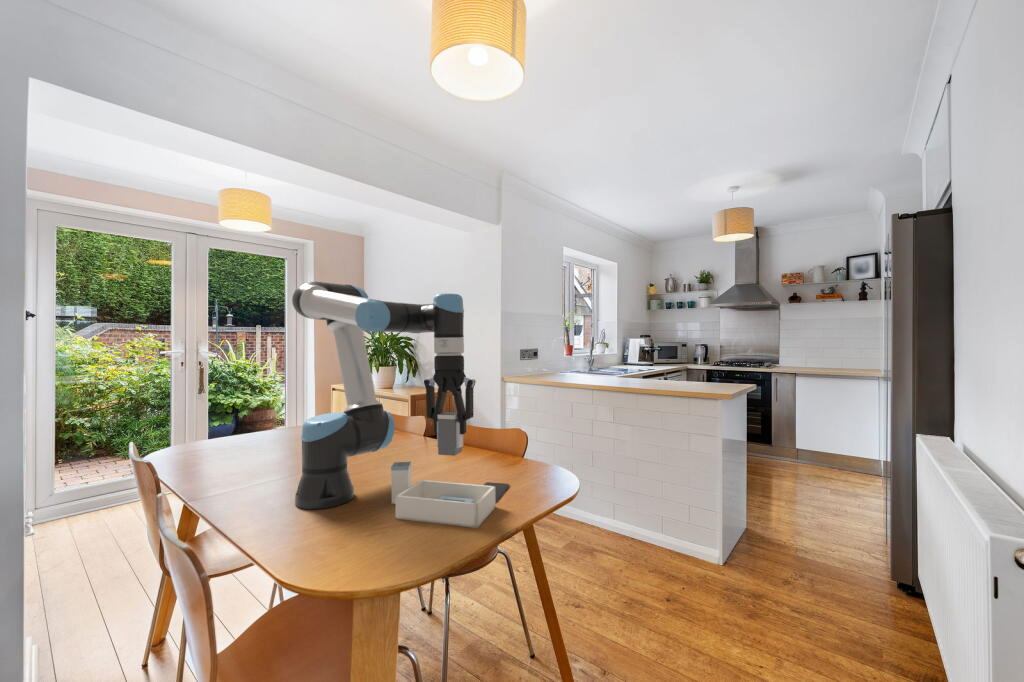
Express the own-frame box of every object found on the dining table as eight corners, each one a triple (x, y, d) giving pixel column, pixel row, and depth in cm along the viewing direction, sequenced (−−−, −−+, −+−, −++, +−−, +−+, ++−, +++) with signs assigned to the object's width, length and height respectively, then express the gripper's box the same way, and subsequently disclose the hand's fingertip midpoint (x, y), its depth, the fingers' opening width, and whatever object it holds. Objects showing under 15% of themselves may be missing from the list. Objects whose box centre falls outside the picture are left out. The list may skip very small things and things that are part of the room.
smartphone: (495, 505, 118) (510, 486, 133) (495, 502, 118) (510, 483, 133) (467, 503, 120) (485, 484, 135) (467, 500, 120) (485, 481, 135)
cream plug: (391, 503, 119) (391, 466, 119) (394, 497, 123) (394, 462, 124) (408, 503, 119) (408, 466, 119) (411, 497, 124) (411, 461, 124)
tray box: (395, 518, 109) (395, 496, 109) (421, 499, 122) (421, 479, 122) (477, 528, 103) (477, 504, 103) (495, 507, 116) (495, 486, 116)
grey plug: (438, 454, 110) (437, 414, 110) (445, 450, 114) (445, 412, 114) (454, 455, 109) (454, 415, 109) (462, 451, 113) (461, 412, 113)
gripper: (411, 355, 111) (412, 448, 110) (476, 354, 106) (477, 451, 105) (424, 354, 118) (425, 441, 118) (486, 354, 113) (487, 444, 113)
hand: (450, 446), depth 111 cm, fingers closed on grey plug, 4 cm apart
